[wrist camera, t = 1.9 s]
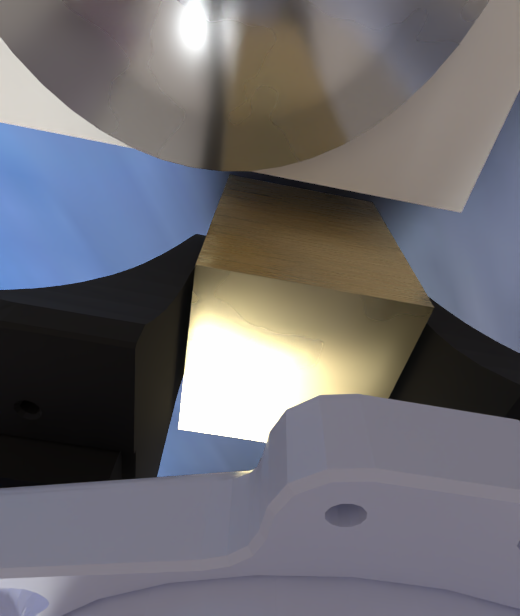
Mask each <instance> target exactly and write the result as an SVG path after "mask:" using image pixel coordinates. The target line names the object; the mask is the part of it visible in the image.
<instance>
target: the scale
mask: <svg viewBox="0 0 520 616" xmlns="http://www.w3.org/2000/svg"><path fill="white" fill-rule="evenodd" d="M519 90H520V0H489V2H488V4H487V5H486V7H485V8H484V10H483V11H482V13H481V14H480V16H479V17H478V18H477V20H476V21H475V23H474V24H473V26H472V27H471V28H470V30H469V31H468V33H467V34H466V36H465V37H464V38H463V40H462V41H461V43H460V44H459V46H458V47H457V48H456V49H455V50H454V51H453V53H452V54H451V55H450V56H449V57H448V58H447V59H446V61H445V62H444V63H443V64H442V65H441V66H440V68H439V69H438V70H437V71H436V72H435V73H434V75H433V76H432V77H431V78H430V79H429V80H428V81H427V82H426V83H425V84H424V85H423V86H422V87H421V88H420V89H419V90H417V91H416V92H415V93H414V94H413V95H412V96H411V97H410V98H409V99H408V100H407V101H406V102H405V103H404V104H403V105H402V106H400V107H399V108H398V109H396V110H395V111H394V112H392V113H391V114H390V115H388V116H387V117H386V118H384V119H383V120H382V121H380V122H379V123H378V124H376V125H375V126H374V127H372V128H371V129H369V130H368V131H366V132H364V133H362V134H361V135H359V136H357V137H356V138H354V139H352V140H350V141H349V142H347V143H345V144H344V145H342V146H339V147H337V148H335V149H332V150H330V151H328V152H325V153H323V154H321V155H318V156H316V157H314V158H311V159H307V160H304V161H300V162H297V163H293V164H290V165H286V166H283V167H276V168H269V169H262V170H255V171H251V172H256V173H261V174H267V175H272V176H277V177H282V178H287V179H292V180H297V181H302V182H307V183H312V184H318V185H323V186H328V187H333V188H338V189H343V190H348V191H353V192H358V193H363V194H368V195H374V196H379V197H384V198H389V199H394V200H399V201H404V202H409V203H414V204H419V205H425V206H430V207H435V208H440V209H445V210H450V211H455V212H460V213H461V212H462V210H463V208H464V206H465V204H466V202H467V200H468V198H469V195H470V193H471V191H472V189H473V187H474V185H475V183H476V181H477V179H478V177H479V174H480V172H481V170H482V168H483V166H484V164H485V162H486V160H487V158H488V155H489V153H490V151H491V149H492V147H493V145H494V143H495V141H496V139H497V137H498V134H499V132H500V130H501V128H502V126H503V124H504V122H505V120H506V118H507V116H508V113H509V111H510V109H511V107H512V105H513V103H514V101H515V99H516V97H517V95H518V92H519ZM0 122H2V123H7V124H12V125H17V126H22V127H27V128H32V129H37V130H42V131H47V132H53V133H58V134H63V135H68V136H73V137H78V138H83V139H88V140H93V141H98V142H104V143H109V144H114V145H119V146H124V147H129V148H132V147H130V146H128V145H126V144H124V143H122V142H121V141H119V140H117V139H115V138H113V137H111V136H110V135H108V134H106V133H104V132H102V131H101V130H99V129H98V128H96V127H95V126H94V125H92V124H91V123H89V122H88V121H86V120H85V119H84V118H82V117H81V116H79V115H78V114H76V113H75V112H74V111H72V110H71V109H70V108H69V107H67V106H66V105H65V104H64V103H63V102H62V101H61V100H59V99H58V98H57V97H56V96H55V95H54V94H53V93H51V92H50V91H49V90H48V89H47V88H46V87H45V86H43V85H42V84H41V83H40V82H39V80H38V79H37V78H36V77H35V76H34V75H33V74H32V73H31V72H30V71H29V70H28V69H27V68H26V67H25V66H24V65H23V63H22V62H21V61H20V60H19V59H18V58H17V57H16V56H15V55H14V54H13V53H12V51H11V50H10V49H9V48H8V46H7V45H6V44H5V42H4V41H3V40H2V39H1V37H0Z"/></svg>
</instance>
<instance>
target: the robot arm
mask: <svg viewBox="0 0 520 616" xmlns="http://www.w3.org/2000/svg"><path fill="white" fill-rule="evenodd" d="M205 238H206V236H204V235H199V234H195V235H194V236H192V237H190V238H189V239H187V240H186V241H184V242H183V243H181V244H179V245H178V246H176V247H174V248H173V249H171V250H169V251H168V252H166V253H164V254H162V255H160V256H158V257H156V258H154V259H152V260H150V261H148V262H146V263H144V264H141V265H139V266H137V267H134V268H132V269H129V270H126V271H123V272H120V273H117V274H114V275H110V276H106V277H102V278H98V279H94V280H89V281H85V282H80V283H74V284H68V285H61V286H53V287H45V288H34V289H15V290H0V616H520V353H518V352H516V351H514V350H512V349H510V348H508V347H506V346H504V345H502V344H500V343H498V342H496V341H495V340H493V339H491V338H489V337H488V336H486V335H484V334H482V333H481V332H479V331H477V330H476V329H474V328H472V327H471V326H469V325H468V324H466V323H464V322H463V321H461V320H460V319H459V318H457V317H456V316H454V315H453V314H451V313H450V312H448V311H447V310H446V309H444V308H443V307H441V306H440V305H439V304H437V303H436V302H435V301H433V300H432V299H431V298H429V297H428V298H429V299H430V301H431V303H432V305H433V306H434V309H433V311H432V313H431V315H430V317H429V319H428V321H427V323H426V325H425V327H424V329H423V331H422V333H421V335H420V337H419V339H418V341H417V343H416V345H415V347H414V349H413V351H412V353H411V355H410V357H409V359H408V361H407V363H406V365H405V367H404V369H403V371H402V373H401V375H400V376H399V378H398V380H397V382H396V384H395V386H394V388H393V390H392V392H391V394H390V396H389V398H388V399H387V398H381V397H375V396H369V395H362V394H332V395H318V396H316V397H314V398H312V399H309V400H307V401H305V402H302V403H300V404H298V405H296V406H293V407H291V408H289V409H287V410H285V412H284V413H283V414H282V416H281V417H280V418H279V420H278V421H277V423H276V424H275V425H274V427H273V428H272V429H271V431H270V432H269V435H268V438H267V442H266V445H265V448H264V452H263V455H262V458H261V460H260V462H259V464H258V466H257V467H256V468H255V469H253V470H251V471H239V472H225V473H210V474H196V475H182V476H168V477H157V474H158V470H159V465H160V461H161V457H162V453H163V449H164V445H165V441H166V437H167V433H168V429H169V425H170V421H171V417H172V413H173V409H174V405H175V401H176V398H177V394H178V390H179V387H180V384H181V381H182V378H183V375H184V369H185V360H186V350H187V341H188V331H189V322H190V312H191V302H192V293H193V283H194V274H195V265H196V262H197V259H198V257H199V254H200V251H201V249H202V246H203V243H204V241H205Z"/></svg>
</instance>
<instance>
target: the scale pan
mask: <svg viewBox="0 0 520 616" xmlns="http://www.w3.org/2000/svg"><path fill="white" fill-rule="evenodd" d="M488 2H489V0H0V37H1V39H2V40H3V41H4V42H5V44H6V45H7V46H8V48H9V49H10V50H11V51H12V53H13V54H14V55H15V56H16V57H17V58H18V59H19V60H20V61H21V62H22V63H23V65H24V66H25V67H26V68H27V69H28V70H29V71H30V72H31V73H32V74H33V75H34V76H35V77H36V78H37V79H38V80H39V82H40V83H41V84H42V85H43V86H45V87H46V88H47V89H48V90H49V91H50V92H51V93H53V94H54V95H55V96H56V97H57V98H58V99H59V100H61V101H62V102H63V103H64V104H65V105H66V106H67V107H69V108H70V109H71V110H72V111H74V112H75V113H76V114H78V115H79V116H81V117H82V118H84V119H85V120H86V121H88V122H89V123H91V124H92V125H94V126H95V127H96V128H98V129H99V130H101V131H102V132H104V133H106V134H108V135H110V136H111V137H113V138H115V139H117V140H119V141H121V142H122V143H124V144H126V145H128V146H130V147H132V148H134V149H137V150H139V151H142V152H144V153H147V154H149V155H152V156H154V157H157V158H159V159H162V160H165V161H169V162H173V163H177V164H181V165H184V166H188V167H193V168H201V169H209V170H216V171H255V170H262V169H269V168H276V167H283V166H286V165H290V164H293V163H297V162H300V161H304V160H307V159H311V158H314V157H316V156H318V155H321V154H323V153H325V152H328V151H330V150H332V149H335V148H337V147H339V146H342V145H344V144H345V143H347V142H349V141H350V140H352V139H354V138H356V137H357V136H359V135H361V134H362V133H364V132H366V131H368V130H369V129H371V128H372V127H374V126H375V125H376V124H378V123H379V122H380V121H382V120H383V119H384V118H386V117H387V116H388V115H390V114H391V113H392V112H394V111H395V110H396V109H398V108H399V107H400V106H402V105H403V104H404V103H405V102H406V101H407V100H408V99H409V98H410V97H411V96H412V95H413V94H414V93H415V92H416V91H417V90H419V89H420V88H421V87H422V86H423V85H424V84H425V83H426V82H427V81H428V80H429V79H430V78H431V77H432V76H433V75H434V73H435V72H436V71H437V70H438V69H439V68H440V66H441V65H442V64H443V63H444V62H445V61H446V59H447V58H448V57H449V56H450V55H451V54H452V53H453V51H454V50H455V49H456V48H457V47H458V46H459V44H460V43H461V41H462V40H463V38H464V37H465V36H466V34H467V33H468V31H469V30H470V28H471V27H472V26H473V24H474V23H475V21H476V20H477V18H478V17H479V16H480V14H481V13H482V11H483V10H484V8H485V7H486V5H487V4H488Z"/></svg>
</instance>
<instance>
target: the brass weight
mask: <svg viewBox="0 0 520 616" xmlns="http://www.w3.org/2000/svg"><path fill="white" fill-rule="evenodd" d="M433 309H434V306H433V305H432V303H431V301H430V299H429V298H428V296H427V294H426V293H425V291H424V289H423V287H422V286H421V284H420V282H419V281H418V279H417V277H416V276H415V274H414V272H413V270H412V269H411V267H410V265H409V264H408V262H407V260H406V259H405V257H404V255H403V253H402V252H401V250H400V248H399V247H398V245H397V243H396V242H395V240H394V238H393V236H392V235H391V233H390V231H389V230H388V228H387V226H386V224H385V223H384V221H383V219H382V218H381V216H380V214H379V213H378V211H377V209H376V207H375V206H374V204H373V202H369V201H363V200H358V199H353V198H348V197H343V196H338V195H333V194H328V193H322V192H317V191H312V190H307V189H302V188H297V187H292V186H286V185H281V184H276V183H271V182H266V181H261V180H256V179H251V178H245V177H240V176H235V175H229V178H228V180H227V183H226V185H225V188H224V191H223V193H222V196H221V199H220V201H219V204H218V207H217V209H216V212H215V214H214V217H213V220H212V222H211V225H210V228H209V230H208V233H207V236H206V238H205V241H204V243H203V246H202V249H201V251H200V254H199V257H198V259H197V262H196V265H195V274H194V283H193V293H192V302H191V312H190V322H189V331H188V341H187V350H186V360H185V369H184V379H183V389H182V398H181V408H180V417H179V427H178V429H183V430H189V431H196V432H202V433H209V434H215V435H222V436H229V437H235V438H242V439H248V440H255V441H261V442H267V438H268V435H269V432H270V431H271V429H272V428H273V427H274V425H275V424H276V423H277V421H278V420H279V418H280V417H281V416H282V414H283V413H284V412H285V410H287V409H289V408H291V407H293V406H296V405H298V404H300V403H302V402H305V401H307V400H309V399H312V398H314V397H316V396H318V395H332V394H362V395H369V396H375V397H381V398H387V399H388V398H389V396H390V394H391V392H392V390H393V388H394V386H395V384H396V382H397V380H398V378H399V376H400V375H401V373H402V371H403V369H404V367H405V365H406V363H407V361H408V359H409V357H410V355H411V353H412V351H413V349H414V347H415V345H416V343H417V341H418V339H419V337H420V335H421V333H422V331H423V329H424V327H425V325H426V323H427V321H428V319H429V317H430V315H431V313H432V311H433Z"/></svg>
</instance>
